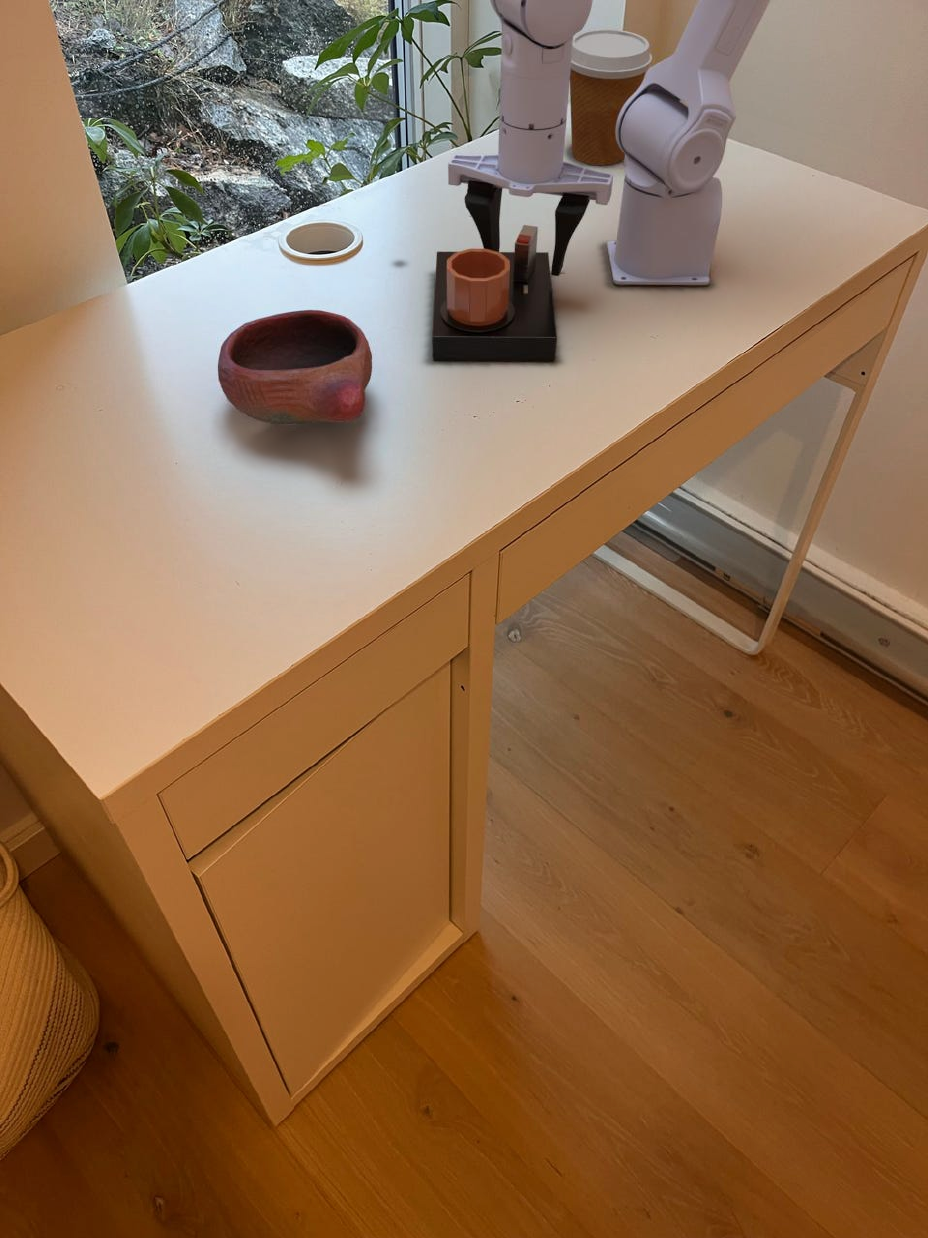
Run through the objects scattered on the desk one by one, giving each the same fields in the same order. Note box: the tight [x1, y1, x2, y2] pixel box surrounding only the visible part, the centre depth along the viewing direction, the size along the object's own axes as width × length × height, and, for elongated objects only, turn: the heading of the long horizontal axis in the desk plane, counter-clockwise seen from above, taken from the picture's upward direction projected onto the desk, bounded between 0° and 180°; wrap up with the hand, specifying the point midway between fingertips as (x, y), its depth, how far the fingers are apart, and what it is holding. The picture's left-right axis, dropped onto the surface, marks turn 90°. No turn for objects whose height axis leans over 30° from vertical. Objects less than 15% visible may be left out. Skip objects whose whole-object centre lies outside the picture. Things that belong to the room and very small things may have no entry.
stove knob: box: [513, 224, 539, 282], centre depth 91 cm, size 4×1×4 cm, turn 165°
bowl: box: [217, 309, 373, 425], centre depth 79 cm, size 16×13×8 cm
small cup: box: [447, 248, 510, 326], centre depth 87 cm, size 6×6×4 cm
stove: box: [431, 251, 566, 363], centre depth 92 cm, size 12×15×3 cm
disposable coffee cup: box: [569, 28, 653, 166], centre depth 111 cm, size 10×10×12 cm
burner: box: [440, 299, 515, 333], centre depth 88 cm, size 7×7×1 cm
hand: (524, 265), depth 93 cm, fingers open, 6 cm apart
